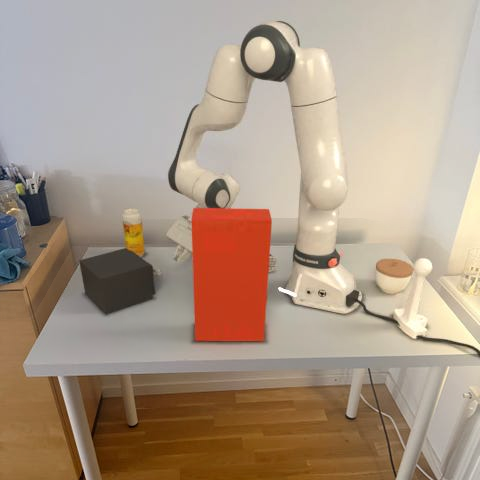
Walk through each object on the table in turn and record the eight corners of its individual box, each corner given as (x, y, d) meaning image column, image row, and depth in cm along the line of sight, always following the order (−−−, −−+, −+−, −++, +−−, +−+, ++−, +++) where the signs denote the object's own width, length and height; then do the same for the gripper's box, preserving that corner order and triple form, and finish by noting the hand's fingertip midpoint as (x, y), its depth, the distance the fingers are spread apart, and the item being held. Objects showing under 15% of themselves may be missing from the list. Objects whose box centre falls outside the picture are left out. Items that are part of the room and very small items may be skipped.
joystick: (389, 316, 128) (405, 250, 117) (413, 313, 130) (431, 248, 119) (410, 339, 119) (429, 270, 108) (435, 336, 121) (457, 267, 110)
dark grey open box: (129, 280, 142) (126, 247, 136) (152, 298, 133) (149, 264, 127) (85, 293, 134) (79, 260, 128) (106, 314, 125) (100, 279, 119)
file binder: (196, 323, 123) (193, 207, 105) (261, 324, 123) (268, 208, 106) (195, 341, 116) (191, 220, 98) (263, 342, 117) (271, 221, 99)
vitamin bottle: (123, 256, 156) (117, 213, 147) (133, 249, 160) (128, 207, 152) (138, 259, 154) (134, 216, 146) (148, 252, 159) (144, 210, 150)
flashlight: (241, 254, 159) (241, 240, 156) (255, 252, 161) (255, 237, 158) (261, 273, 148) (262, 258, 145) (276, 270, 150) (277, 255, 147)
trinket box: (413, 288, 142) (420, 260, 137) (398, 301, 135) (405, 273, 130) (381, 277, 148) (387, 250, 143) (365, 289, 141) (370, 261, 136)
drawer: (146, 273, 144) (144, 246, 139) (167, 289, 136) (165, 262, 131) (93, 289, 135) (89, 261, 130) (113, 307, 126) (109, 279, 122)
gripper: (177, 208, 145) (152, 244, 145) (215, 228, 132) (188, 268, 132) (189, 219, 150) (165, 254, 150) (228, 239, 137) (201, 278, 137)
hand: (176, 261), depth 141 cm, fingers closed
